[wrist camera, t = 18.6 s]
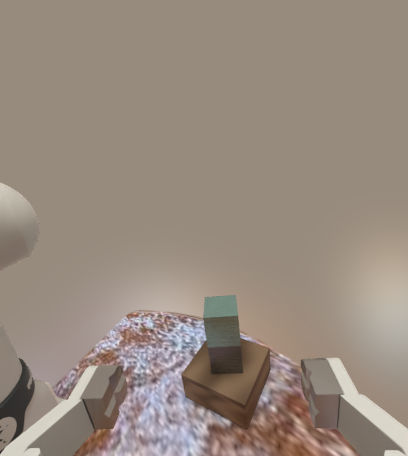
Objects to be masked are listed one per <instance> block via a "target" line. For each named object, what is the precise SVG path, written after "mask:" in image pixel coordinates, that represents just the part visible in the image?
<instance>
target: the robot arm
mask: <svg viewBox="0 0 408 456" xmlns="http://www.w3.org/2000/svg"><path fill="white" fill-rule="evenodd" d="M38 236H39V223H38V219H37V216H36V213H35V212H34V209H33V208H32V206H31V205H30V203H29V202H28V201H27V200H26V199H25V198H24V197H23V196H22V195H21V194H20V193H18V192H17V191H16V190H14V189H12V188H11V187H9V186H7V185H5V184H3V183H0V271H1V270H3V269H5V268H7V267H9V266H11V265H13V264H15V263H17V262H19V261H21V260H23V259H25V258H27V257H29V256H30V255H31V253H32V252H33V250H34V248H35V246H36V244H37V241H38ZM301 368H302V371H303V372H302V373H301V383H302V389H303V393H304V396H305V399H306V400H307V401H308V402H309V412H310V415H311V418H312V421H313V424H314V427H315V428H333V429H338V431H339V432H340V433H341V434H342V435H343V436H344V438H345V439H346V440H347V441H348V442H349V443H350V444H351V445H352V446H353V448H354V449H355V450H356V451H357V452H358V453H359V454H360V455H361V456H408V429H407V428H406V427H404V426H403V425H402V424H400V423H399V422H398V421H397V420H395V419H394V418H393V417H391V416H390V415H389V414H387V413H386V412H385V411H384V410H382V409H381V408H380V407H379V406H377V405H376V404H375V403H373V402H372V401H371V400H370V399H368V398H367V397H366V396H364V395H359V393H358V391H357V389H356V388H355V386H354V384H353V382H352V380H351V378H350V376H349V375H348V373H347V371H346V369H345V367H344V366H343V364H342V362H341V360H340V359H339V358H326V359H325V358H317V359H302V360H301ZM122 373H123V369H122V366H89V367H88V368H86V370H85V372H84V373H83V375H82V377H81V378H80V380H79V382H78V383H77V385H76V386H75V388H74V390H73V391H72V393H71V395H70V396H69V398H68V400H65V399H62V398H59V397H56V395H55V393H54V391H53V389H52V387H51V386H50V384H49V383H48V382H45V383H44V382H42V381H39V380H34V379H33V377H32V373H31V371H30V369H29V367H28V366H26V364H25V362H24V361H23V360H22V359H20V358H18V356H17V354H16V352H15V350H14V348H13V346H12V344H11V342H10V340H9V337H8V335H7V333H6V331H5V329H4V327H3V325H2V324H1V323H0V456H73V455H74V454H75V452H76V451H77V450H78V449H79V448H80V447H81V445H82V444H83V443H84V442H85V441H86V440H87V439H88V437H89V436H90V435H91V434H92V433H93V432H94V429H113V428H114V425H115V423H116V420H117V418H118V415H119V408H118V407H119V406H120V405H121V404H122V403H123V402H124V399H125V396H126V391H127V382H126V378H125V377H123V376H122Z"/></svg>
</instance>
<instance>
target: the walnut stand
mask: <svg viewBox="0 0 408 456" xmlns="http://www.w3.org/2000/svg"><path fill="white" fill-rule="evenodd" d="M240 343H241V354H242V364H243V373H236V374H212V373H211V366H210V359H209V353H208V346H207V340H206V342H205V343H204V344H203V346H202V347H201V348H200V350H199V351H198V353H197V354H196V355H195V357H194V358H193V359H192V361H191V362H190V364H189V365H188V366H187V368H186V369H185V370H184V372H183V373H182V374H181V375H182V380H183V385H184V390H185V395H186V397H187V398H189V399H191V400H193V401H195V402H197V403H199V404H200V405H202V406H204V407H206V408H208V409H210V410H212V411H213V412H215V413H217V414H219V415H221V416H223V417H225V418H226V419H228V420H230V421H232V422H234V423H236V424H238V425H240V426H241V427H243V428H245V429H248V426H249V424H250V421H251V419H252V416H253V413H254V411H255V408H256V406H257V403H258V400H259V398H260V395H261V393H262V390H263V387H264V385H265V382H266V380H267V377H268V374H269V372H270V350H269V348H268V347H265V346H262V345H259V344H256V343H253V342H250V341H247V340H244V339H241V338H240Z"/></svg>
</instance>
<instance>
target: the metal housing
mask: <svg viewBox="0 0 408 456" xmlns="http://www.w3.org/2000/svg"><path fill="white" fill-rule="evenodd" d="M203 319H204V326H205V333H206V339H207V346H208V353H209V359H210V366H211V373H212V374H236V373H243V364H242V354H241V343H240V332H239V322H238V312H237V303H236V295H231V296H216V297H205V305H204V316H203Z"/></svg>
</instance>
